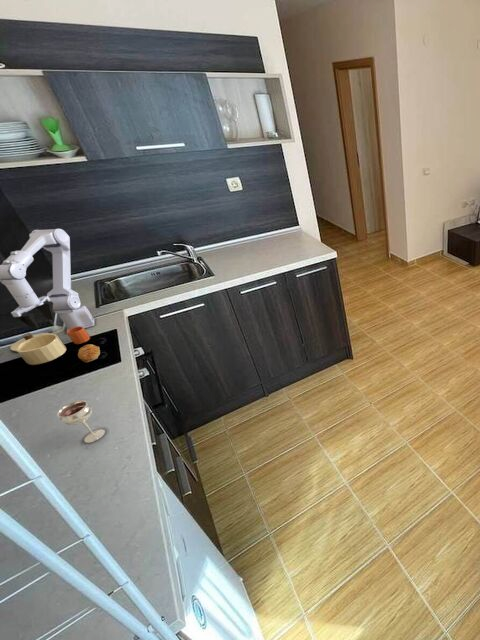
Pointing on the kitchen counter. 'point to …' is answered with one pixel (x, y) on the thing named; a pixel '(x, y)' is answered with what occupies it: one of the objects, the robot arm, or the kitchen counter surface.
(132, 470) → the kitchen counter surface
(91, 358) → the pastry
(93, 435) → the wineglass
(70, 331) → the cup
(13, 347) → the pot lid
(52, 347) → the pot
